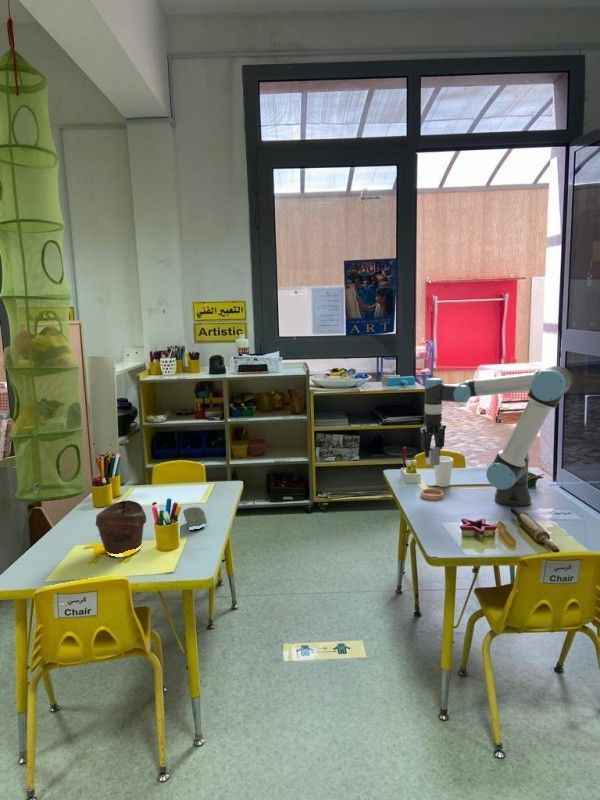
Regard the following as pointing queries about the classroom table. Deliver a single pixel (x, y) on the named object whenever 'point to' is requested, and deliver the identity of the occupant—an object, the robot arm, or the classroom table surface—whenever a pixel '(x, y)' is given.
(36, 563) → the classroom table surface
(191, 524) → the decorative stone
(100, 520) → the chocolate muffin
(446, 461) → the foam cup
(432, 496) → the terracotta dish
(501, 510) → the classroom table surface
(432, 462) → the stone block
